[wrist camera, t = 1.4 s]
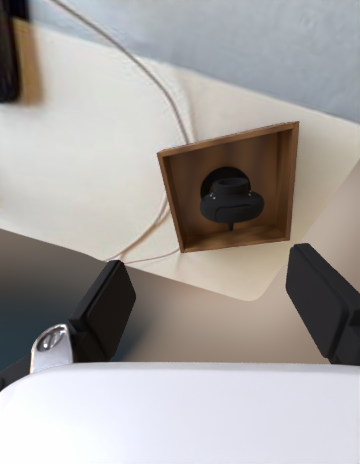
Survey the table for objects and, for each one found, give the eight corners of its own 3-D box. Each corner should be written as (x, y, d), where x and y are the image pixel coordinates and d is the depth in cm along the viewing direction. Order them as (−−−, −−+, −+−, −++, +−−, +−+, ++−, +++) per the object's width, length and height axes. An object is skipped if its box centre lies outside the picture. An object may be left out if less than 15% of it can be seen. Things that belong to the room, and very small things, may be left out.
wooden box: (281, 123, 24) (299, 121, 20) (277, 225, 31) (290, 240, 27) (163, 149, 27) (156, 152, 23) (183, 238, 34) (181, 253, 29)
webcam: (251, 162, 26) (278, 177, 17) (249, 211, 30) (270, 243, 21) (197, 169, 27) (196, 186, 19) (201, 215, 31) (202, 248, 22)
